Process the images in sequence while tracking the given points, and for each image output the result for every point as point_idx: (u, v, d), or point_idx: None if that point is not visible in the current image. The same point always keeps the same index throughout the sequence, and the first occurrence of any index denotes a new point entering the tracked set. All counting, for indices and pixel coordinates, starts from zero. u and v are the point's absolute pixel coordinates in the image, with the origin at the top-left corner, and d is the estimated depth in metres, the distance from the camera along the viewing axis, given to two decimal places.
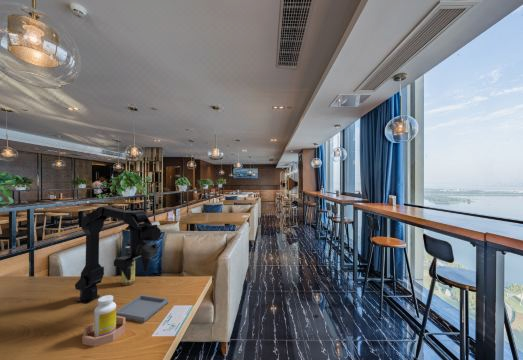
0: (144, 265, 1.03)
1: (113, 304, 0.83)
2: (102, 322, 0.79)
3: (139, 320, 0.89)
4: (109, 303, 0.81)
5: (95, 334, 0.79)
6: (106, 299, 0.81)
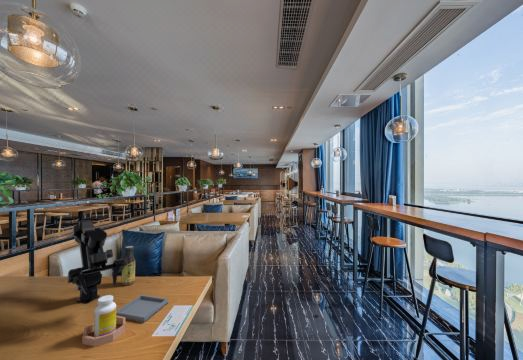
0: (113, 280, 0.92)
1: (113, 304, 0.83)
2: (102, 322, 0.79)
3: (139, 320, 0.89)
4: (109, 303, 0.81)
5: (95, 334, 0.79)
6: (106, 299, 0.81)
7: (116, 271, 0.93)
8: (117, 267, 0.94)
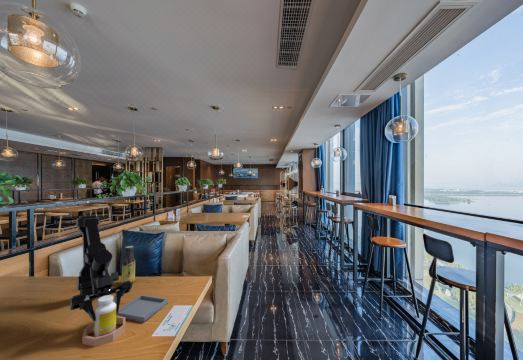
0: None
1: (113, 304, 0.83)
2: (102, 321, 0.79)
3: (139, 320, 0.89)
4: (109, 303, 0.81)
5: (95, 334, 0.79)
6: (106, 299, 0.81)
7: (119, 296, 0.86)
8: (120, 292, 0.86)
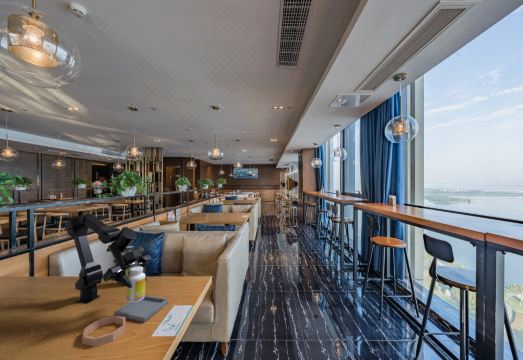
0: None
1: (143, 273, 0.95)
2: (137, 287, 0.91)
3: (139, 320, 0.89)
4: (141, 272, 0.93)
5: (130, 299, 0.90)
6: (138, 268, 0.93)
7: (144, 267, 0.98)
8: (144, 263, 0.98)
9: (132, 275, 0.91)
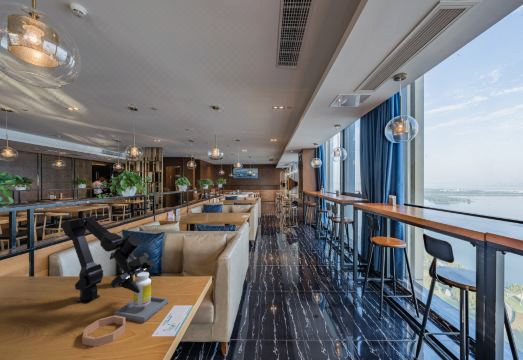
0: None
1: (149, 278, 0.99)
2: (145, 292, 0.95)
3: (139, 320, 0.89)
4: None
5: (138, 304, 0.94)
6: (145, 274, 0.97)
7: (148, 272, 1.02)
8: (148, 269, 1.02)
9: (139, 280, 0.95)
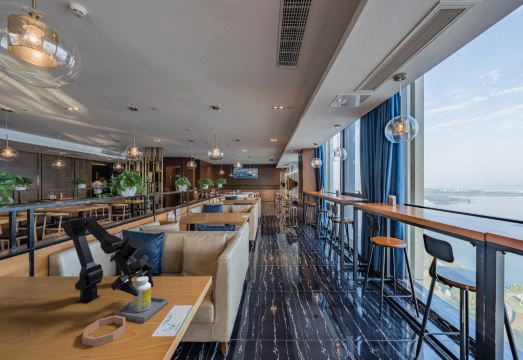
0: None
1: (148, 282, 0.99)
2: (145, 296, 0.95)
3: (139, 320, 0.89)
4: (147, 281, 0.97)
5: (138, 308, 0.94)
6: (144, 278, 0.97)
7: (150, 274, 1.03)
8: (150, 270, 1.03)
9: (139, 285, 0.95)
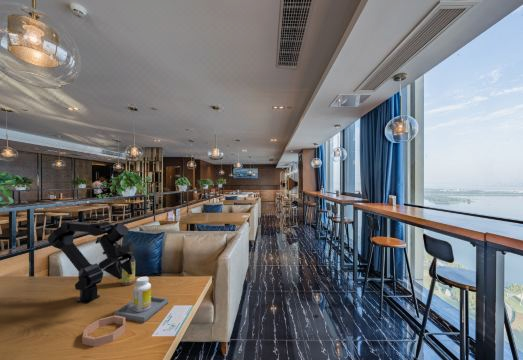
0: (127, 270, 1.05)
1: (148, 282, 0.99)
2: (145, 296, 0.95)
3: (139, 320, 0.89)
4: (147, 281, 0.97)
5: (138, 309, 0.94)
6: (144, 279, 0.97)
7: (130, 262, 1.07)
8: (131, 259, 1.08)
9: (139, 285, 0.95)
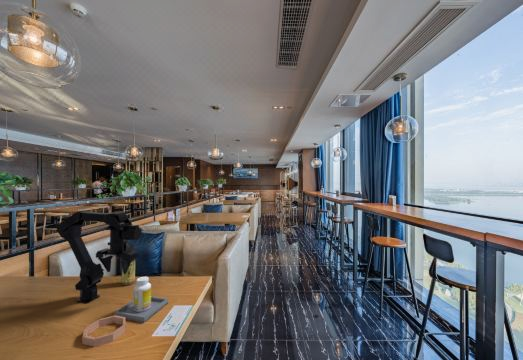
0: (107, 266, 1.04)
1: None
2: (145, 296, 0.95)
3: (139, 320, 0.89)
4: (147, 281, 0.97)
5: (138, 309, 0.94)
6: (145, 279, 0.97)
7: None
8: None
9: (139, 285, 0.95)
